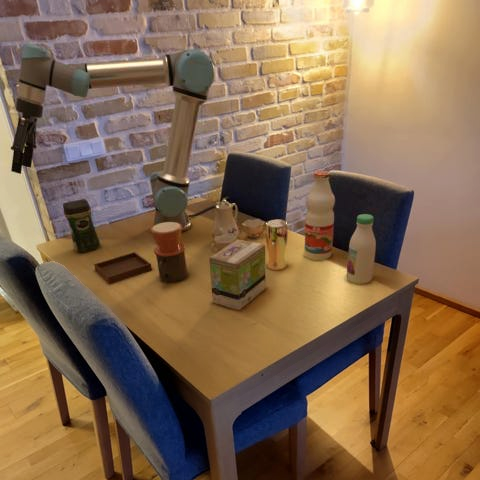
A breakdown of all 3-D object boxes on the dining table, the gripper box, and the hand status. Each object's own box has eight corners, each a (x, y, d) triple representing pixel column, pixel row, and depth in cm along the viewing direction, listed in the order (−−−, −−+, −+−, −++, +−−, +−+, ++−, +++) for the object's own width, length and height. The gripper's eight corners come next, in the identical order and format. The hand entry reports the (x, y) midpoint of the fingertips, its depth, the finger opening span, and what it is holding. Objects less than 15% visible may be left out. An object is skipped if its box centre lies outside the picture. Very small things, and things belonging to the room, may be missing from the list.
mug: (168, 269, 148) (163, 243, 143) (191, 271, 146) (188, 245, 140) (149, 286, 139) (144, 259, 133) (175, 289, 136) (170, 261, 131)
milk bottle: (372, 274, 137) (380, 212, 126) (370, 285, 131) (378, 222, 120) (347, 271, 139) (353, 211, 128) (344, 283, 133) (349, 220, 122)
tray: (135, 257, 158) (134, 251, 156) (152, 269, 148) (150, 263, 147) (95, 270, 151) (93, 264, 149) (109, 284, 141) (108, 277, 140)
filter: (176, 245, 145) (172, 218, 140) (191, 254, 138) (188, 227, 133) (149, 253, 140) (144, 226, 135) (163, 263, 133) (158, 235, 128)
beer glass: (290, 263, 147) (290, 220, 139) (283, 271, 142) (283, 228, 133) (271, 260, 149) (270, 218, 141) (263, 268, 144) (262, 225, 136)
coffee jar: (97, 242, 173) (85, 195, 162) (102, 248, 167) (91, 200, 157) (72, 248, 169) (59, 201, 159) (77, 255, 163) (63, 206, 153)
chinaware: (230, 264, 152) (231, 219, 142) (192, 251, 159) (191, 207, 149) (269, 235, 172) (272, 194, 162) (233, 225, 179) (234, 185, 169)
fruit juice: (335, 251, 152) (340, 169, 137) (327, 262, 145) (332, 177, 130) (309, 247, 156) (312, 167, 141) (300, 258, 149) (302, 175, 134)
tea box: (241, 311, 123) (237, 263, 115) (212, 303, 127) (207, 257, 119) (267, 288, 133) (265, 243, 125) (239, 281, 138) (236, 237, 130)
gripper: (27, 96, 145) (18, 160, 153) (5, 96, 123) (-3, 171, 131) (51, 104, 147) (41, 167, 155) (34, 106, 125) (24, 179, 133)
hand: (21, 169), depth 143 cm, fingers open, 13 cm apart
